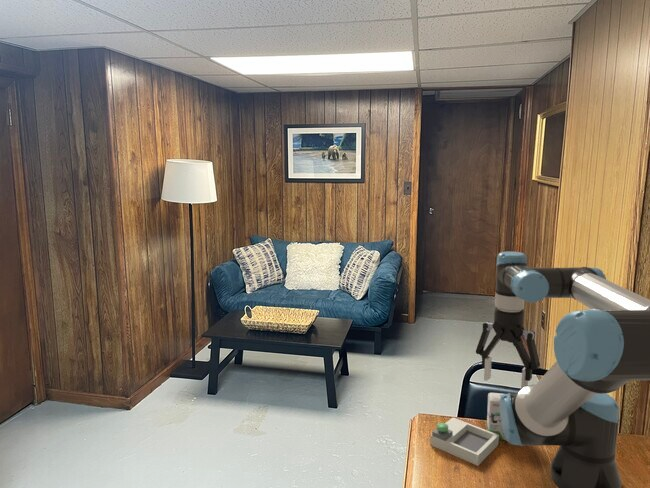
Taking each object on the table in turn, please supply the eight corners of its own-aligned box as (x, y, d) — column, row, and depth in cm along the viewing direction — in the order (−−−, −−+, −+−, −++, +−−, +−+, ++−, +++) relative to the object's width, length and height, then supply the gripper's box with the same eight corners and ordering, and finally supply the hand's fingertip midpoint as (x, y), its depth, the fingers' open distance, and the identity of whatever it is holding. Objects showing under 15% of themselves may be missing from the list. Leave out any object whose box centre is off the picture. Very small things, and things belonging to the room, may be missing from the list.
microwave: (498, 444, 132) (499, 431, 131) (477, 465, 123) (478, 451, 123) (452, 426, 142) (452, 413, 141) (430, 444, 133) (430, 431, 132)
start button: (449, 433, 132) (450, 425, 132) (444, 438, 130) (444, 429, 129) (440, 429, 134) (440, 421, 134) (434, 434, 132) (434, 425, 131)
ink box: (488, 438, 135) (489, 400, 133) (486, 429, 140) (487, 392, 138) (520, 442, 133) (522, 403, 131) (517, 432, 138) (519, 394, 136)
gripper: (557, 313, 125) (551, 392, 129) (476, 297, 141) (473, 368, 144) (547, 320, 120) (541, 402, 124) (464, 303, 135) (462, 377, 139)
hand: (505, 384), depth 134 cm, fingers open, 10 cm apart
